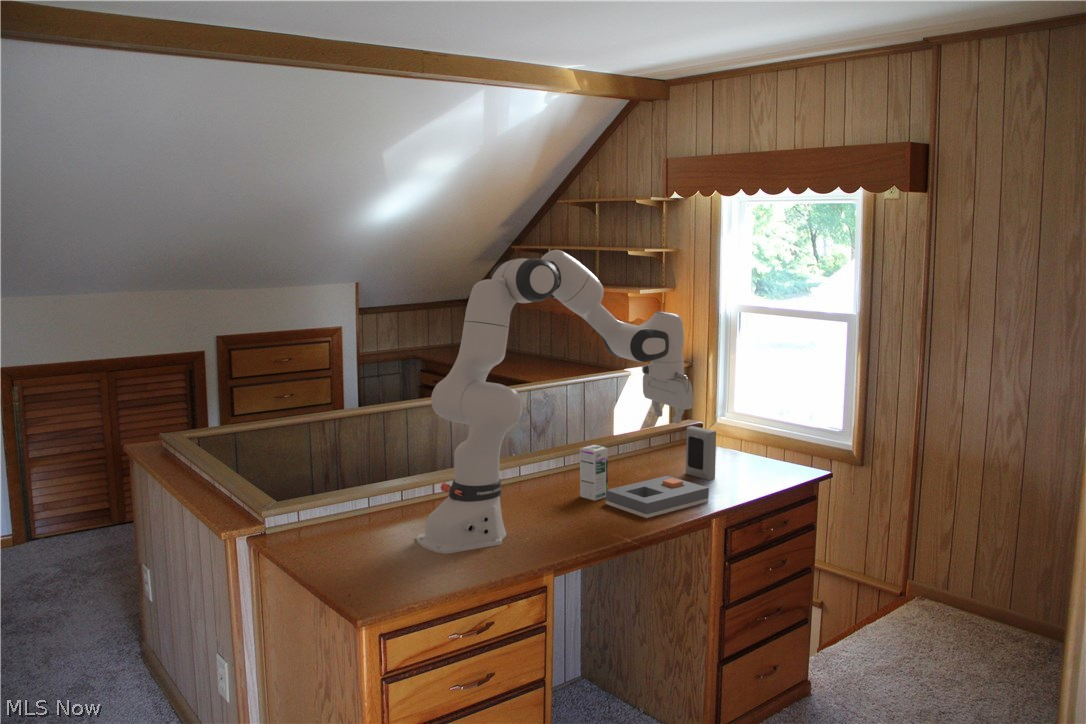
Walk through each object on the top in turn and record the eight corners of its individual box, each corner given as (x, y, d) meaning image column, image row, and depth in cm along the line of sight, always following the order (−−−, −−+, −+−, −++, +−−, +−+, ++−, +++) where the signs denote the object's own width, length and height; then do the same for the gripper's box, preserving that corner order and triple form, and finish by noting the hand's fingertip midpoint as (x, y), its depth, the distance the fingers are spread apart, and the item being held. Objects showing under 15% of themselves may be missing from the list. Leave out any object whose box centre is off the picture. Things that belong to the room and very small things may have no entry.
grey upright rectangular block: (683, 475, 282) (684, 427, 280) (691, 473, 285) (692, 426, 282) (707, 481, 275) (708, 432, 273) (715, 479, 277) (716, 431, 275)
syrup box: (594, 501, 255) (595, 450, 253) (579, 497, 259) (579, 447, 257) (608, 497, 259) (608, 447, 257) (592, 493, 263) (593, 443, 261)
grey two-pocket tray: (646, 518, 240) (646, 503, 239) (605, 504, 252) (605, 490, 252) (708, 501, 255) (708, 487, 254) (666, 488, 267) (667, 475, 266)
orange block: (672, 492, 254) (673, 483, 254) (662, 489, 257) (662, 480, 257) (682, 489, 256) (682, 481, 256) (672, 486, 260) (672, 478, 259)
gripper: (699, 375, 243) (698, 425, 245) (657, 364, 261) (657, 411, 264) (679, 377, 240) (678, 428, 243) (638, 366, 259) (638, 413, 261)
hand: (667, 419), depth 253 cm, fingers open, 8 cm apart
